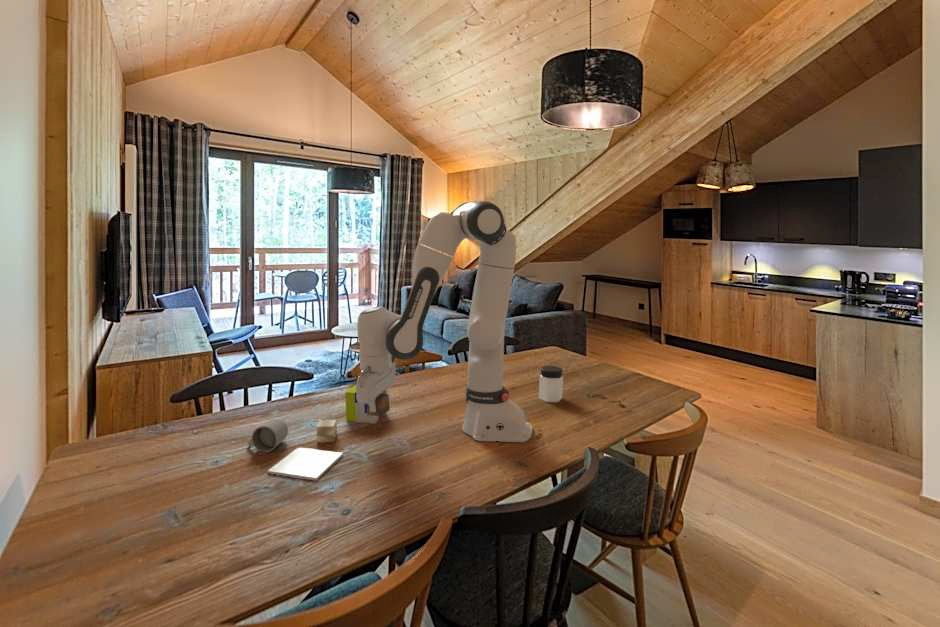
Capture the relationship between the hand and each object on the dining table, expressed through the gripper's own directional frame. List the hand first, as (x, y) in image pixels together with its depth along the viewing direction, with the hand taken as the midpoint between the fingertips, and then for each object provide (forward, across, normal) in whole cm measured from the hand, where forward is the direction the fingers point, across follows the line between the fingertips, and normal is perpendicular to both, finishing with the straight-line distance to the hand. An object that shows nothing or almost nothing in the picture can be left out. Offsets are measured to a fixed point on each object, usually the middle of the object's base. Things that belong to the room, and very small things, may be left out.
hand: (378, 407), depth 141 cm
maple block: (+10, -2, +16) cm, 19 cm away
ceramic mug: (+10, -12, +30) cm, 34 cm away
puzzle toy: (+11, +16, +12) cm, 23 cm away
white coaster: (+10, -18, +13) cm, 25 cm away
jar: (+14, +51, -48) cm, 71 cm away
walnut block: (+2, 0, 0) cm, 2 cm away
